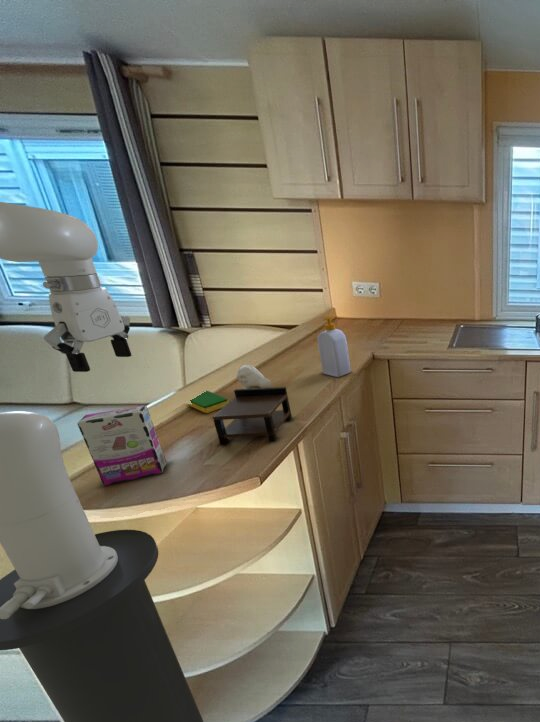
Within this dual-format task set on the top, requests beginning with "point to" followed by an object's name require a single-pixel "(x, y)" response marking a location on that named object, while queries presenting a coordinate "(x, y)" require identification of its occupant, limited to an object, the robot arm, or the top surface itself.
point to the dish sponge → (208, 402)
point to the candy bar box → (123, 444)
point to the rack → (253, 414)
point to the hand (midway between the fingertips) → (104, 363)
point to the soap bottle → (333, 350)
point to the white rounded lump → (252, 377)
